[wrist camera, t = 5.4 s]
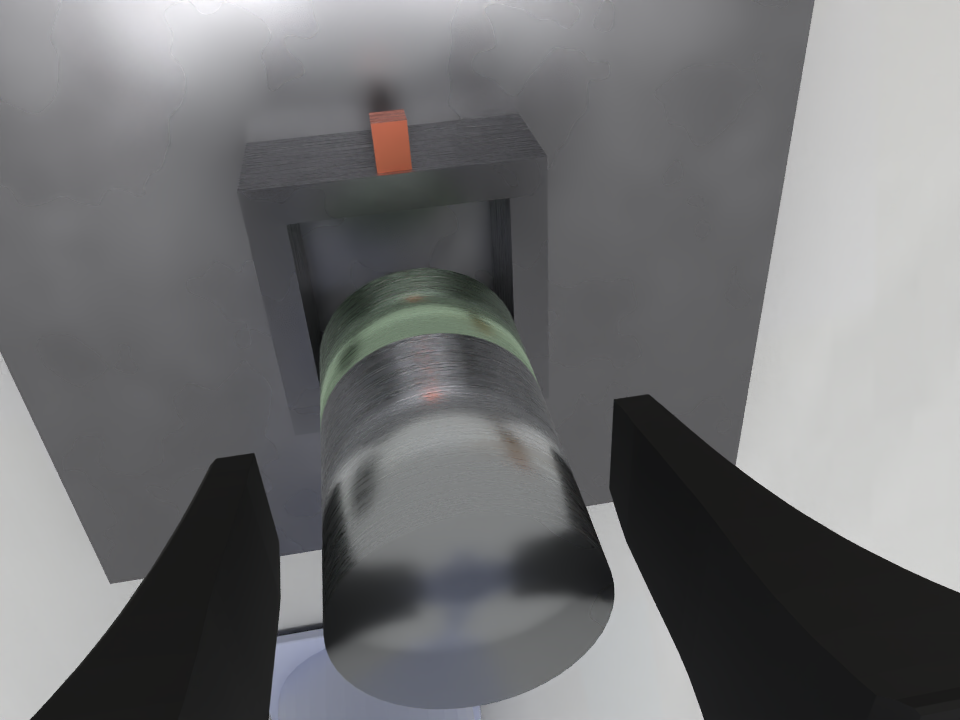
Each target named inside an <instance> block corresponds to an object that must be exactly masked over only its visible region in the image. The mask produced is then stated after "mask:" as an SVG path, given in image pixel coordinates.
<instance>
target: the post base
mask: <svg viewBox="0 0 960 720" xmlns="http://www.w3.org/2000/svg"><path fill="white" fill-rule="evenodd" d="M813 6H814V0H0V352H1V354H2V356H3V358H4V360H5V363H6V365H7V367H8V369H9V371H10V373H11V375H12V377H13V379H14V382H15V384H16V386H17V388H18V390H19V392H20V394H21V396H22V398H23V401H24V403H25V405H26V407H27V409H28V411H29V413H30V415H31V417H32V420H33V422H34V424H35V426H36V428H37V430H38V432H39V434H40V436H41V439H42V441H43V443H44V445H45V447H46V449H47V451H48V453H49V455H50V458H51V460H52V462H53V464H54V466H55V468H56V470H57V472H58V474H59V477H60V479H61V481H62V483H63V485H64V487H65V489H66V491H67V493H68V496H69V498H70V500H71V502H72V504H73V506H74V508H75V510H76V512H77V515H78V517H79V519H80V521H81V523H82V525H83V527H84V529H85V531H86V534H87V536H88V538H89V540H90V542H91V544H92V546H93V548H94V550H95V553H96V555H97V557H98V559H99V561H100V563H101V565H102V567H103V569H104V572H105V574H106V576H107V578H108V580H109V582H110V584H112V583H118V582H124V581H130V580H137V579H143V578H145V577H146V575H147V574H148V572H149V571H150V570H151V568H152V566H153V565H154V563H155V562H156V560H157V559H158V557H159V555H160V554H161V552H162V550H163V549H164V547H165V545H166V544H167V542H168V541H169V539H170V537H171V536H172V534H173V532H174V531H175V529H176V527H177V526H178V524H179V522H180V521H181V519H182V517H183V515H184V513H185V512H186V510H187V508H188V506H189V505H190V503H191V501H192V499H193V497H194V495H195V494H196V492H197V490H198V488H199V486H200V484H201V482H202V480H203V478H204V476H205V475H206V473H207V471H208V469H209V467H210V465H211V464H212V463H213V461H214V460H215V459H216V458H223V457H229V456H236V455H243V454H250V453H255V457H256V460H257V464H258V467H259V471H260V474H261V478H262V482H263V485H264V489H265V492H266V496H267V499H268V503H269V506H270V510H271V514H272V517H273V521H274V524H275V528H276V531H277V535H278V538H279V548H280V556H284V555H290V554H296V553H302V552H308V551H314V550H321V549H322V505H321V431H320V346H321V341H322V337H323V334H324V331H325V329H326V326H327V324H328V322H329V321H330V319H331V317H332V315H333V314H334V313H335V311H336V310H337V309H338V307H339V306H340V305H341V304H342V303H343V302H344V301H345V300H346V299H347V298H348V297H349V296H350V295H351V294H353V293H354V292H355V291H356V290H358V289H359V288H361V287H362V286H364V285H366V284H367V283H369V282H371V281H373V280H375V279H377V278H379V277H382V276H384V275H387V274H390V273H394V272H397V271H402V270H408V269H417V268H436V269H444V270H450V271H454V272H457V273H460V274H464V275H466V276H468V277H471V278H473V279H475V280H477V281H479V282H480V283H482V284H484V285H485V286H487V287H488V288H489V289H490V290H492V291H493V292H494V293H495V294H496V295H497V296H498V297H499V298H500V299H501V300H502V301H503V303H504V304H505V306H506V307H507V309H508V310H509V312H510V314H511V316H512V318H513V320H514V323H515V325H516V328H517V331H518V333H519V336H520V338H521V341H522V343H523V346H524V349H525V351H526V354H527V356H528V359H529V361H530V364H531V367H532V369H533V372H534V374H535V377H536V380H537V382H538V385H539V387H540V390H541V392H542V395H543V398H544V400H545V403H546V405H547V408H548V411H549V413H550V416H551V418H552V421H553V423H554V426H555V429H556V431H557V434H558V436H559V439H560V441H561V444H562V447H563V449H564V452H565V454H566V457H567V460H568V462H569V465H570V467H571V470H572V472H573V475H574V478H575V480H576V483H577V485H578V488H579V491H580V493H581V496H582V498H583V501H584V503H585V506H590V505H597V504H603V503H609V502H613V499H612V496H611V493H610V490H609V480H610V461H611V442H612V423H613V403H614V399H618V398H625V397H632V396H639V395H645V394H649V395H651V396H652V397H653V398H654V399H655V400H657V401H658V402H659V403H660V404H661V405H662V406H664V407H665V408H666V409H667V410H668V411H670V412H671V413H672V414H673V415H674V416H675V417H677V418H678V419H679V420H680V421H681V422H682V423H684V424H685V425H686V426H687V427H688V428H689V429H691V430H692V431H693V432H694V433H695V434H697V435H698V436H699V437H700V438H701V439H703V440H704V441H705V442H706V443H707V444H709V445H710V446H711V447H712V448H713V449H715V450H716V451H717V452H718V453H720V454H721V455H722V456H723V457H725V458H726V459H727V460H729V461H730V462H731V463H732V464H734V465H735V464H736V459H737V453H738V447H739V441H740V435H741V429H742V423H743V417H744V412H745V406H746V400H747V394H748V388H749V382H750V376H751V370H752V365H753V359H754V353H755V347H756V341H757V335H758V329H759V323H760V318H761V312H762V306H763V300H764V294H765V288H766V282H767V276H768V271H769V265H770V259H771V253H772V247H773V241H774V235H775V229H776V224H777V218H778V212H779V206H780V200H781V194H782V188H783V182H784V177H785V171H786V165H787V159H788V153H789V147H790V141H791V135H792V130H793V124H794V118H795V112H796V106H797V100H798V94H799V88H800V83H801V77H802V71H803V65H804V59H805V53H806V47H807V41H808V36H809V30H810V24H811V18H812V12H813Z"/></svg>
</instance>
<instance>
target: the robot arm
mask: <svg viewBox="0 0 960 720" xmlns="http://www.w3.org/2000/svg"><path fill="white" fill-rule="evenodd" d="M609 490H610V493H611V496H612V499H613V502H614V506H615V509H616V512H617V515H618V518H619V521H620V524H621V527H622V530H623V533H624V536H625V539H626V542H627V544H628V546H629V548H630V550H631V553H632V555H633V557H634V559H635V561H636V563H637V565H638V568H639V570H640V572H641V574H642V576H643V578H644V580H645V582H646V585H647V587H648V589H649V591H650V593H651V595H652V597H653V599H654V601H655V603H656V606H657V608H658V610H659V612H660V614H661V616H662V618H663V620H664V622H665V624H666V627H667V629H668V631H669V633H670V635H671V637H672V639H673V641H674V643H675V646H676V648H677V650H678V652H679V654H680V657H681V659H682V661H683V664H684V666H685V668H686V671H687V673H688V675H689V678H690V681H691V684H692V686H693V689H694V692H695V695H696V698H697V700H698V703H699V706H700V709H701V712H702V714H703V717H704V720H960V593H959V592H956V591H954V590H952V589H949V588H947V587H944V586H942V585H940V584H937V583H935V582H932V581H930V580H928V579H926V578H924V577H921V576H919V575H917V574H915V573H913V572H910V571H908V570H906V569H904V568H902V567H900V566H898V565H896V564H894V563H892V562H890V561H888V560H886V559H884V558H882V557H880V556H878V555H876V554H874V553H872V552H870V551H868V550H866V549H864V548H862V547H860V546H858V545H856V544H855V543H853V542H851V541H849V540H847V539H845V538H844V537H842V536H840V535H838V534H837V533H835V532H833V531H832V530H830V529H828V528H827V527H825V526H823V525H822V524H820V523H818V522H817V521H815V520H813V519H811V518H810V517H808V516H806V515H805V514H803V513H802V512H800V511H799V510H797V509H795V508H794V507H792V506H791V505H789V504H788V503H786V502H785V501H783V500H782V499H780V498H779V497H778V496H776V495H775V494H773V493H772V492H770V491H769V490H767V489H766V488H765V487H763V486H762V485H760V484H759V483H757V482H756V481H755V480H753V479H752V478H751V477H749V476H748V475H747V474H745V473H744V472H743V471H741V470H740V469H739V468H738V467H736V466H735V465H734V464H732V463H731V462H730V461H729V460H727V459H726V458H725V457H723V456H722V455H721V454H720V453H718V452H717V451H716V450H715V449H713V448H712V447H711V446H710V445H709V444H707V443H706V442H705V441H704V440H703V439H701V438H700V437H699V436H698V435H697V434H695V433H694V432H693V431H692V430H691V429H689V428H688V427H687V426H686V425H685V424H684V423H682V422H681V421H680V420H679V419H678V418H677V417H675V416H674V415H673V414H672V413H671V412H670V411H668V410H667V409H666V408H665V407H664V406H662V405H661V404H660V403H659V402H658V401H657V400H655V399H654V398H653V397H652V396H651V395H649V394H645V395H639V396H632V397H625V398H618V399H614V403H613V423H612V442H611V461H610V480H609ZM280 599H281V595H280V548H279V538H278V535H277V531H276V528H275V524H274V521H273V517H272V514H271V510H270V506H269V503H268V499H267V496H266V492H265V489H264V485H263V482H262V478H261V474H260V471H259V467H258V464H257V460H256V457H255V453H250V454H243V455H236V456H229V457H223V458H216V459H215V460H214V461H213V463H212V464H211V465H210V467H209V469H208V471H207V473H206V475H205V476H204V478H203V480H202V482H201V484H200V486H199V488H198V490H197V492H196V494H195V495H194V497H193V499H192V501H191V503H190V505H189V506H188V508H187V510H186V512H185V513H184V515H183V517H182V519H181V521H180V522H179V524H178V526H177V527H176V529H175V531H174V532H173V534H172V536H171V537H170V539H169V541H168V542H167V544H166V545H165V547H164V549H163V550H162V552H161V554H160V555H159V557H158V559H157V560H156V562H155V563H154V565H153V566H152V568H151V570H150V571H149V572H148V574H147V575H146V577H145V578H144V580H143V581H142V583H141V584H140V586H139V587H138V588H137V590H136V591H135V593H134V594H133V596H132V597H131V599H130V600H129V602H128V603H127V605H126V606H125V607H124V609H123V610H122V612H121V613H120V614H119V616H118V617H117V618H116V620H115V621H114V622H113V624H112V625H111V626H110V628H109V629H108V630H107V632H106V633H105V634H104V635H103V637H102V638H101V639H100V640H99V642H98V643H97V644H96V645H95V647H94V648H93V649H92V650H91V652H90V653H89V654H88V655H87V656H86V658H85V659H84V660H83V661H82V663H81V664H80V665H79V666H78V667H77V668H76V670H75V671H74V672H73V673H72V674H71V675H70V676H69V677H68V679H67V680H66V681H65V682H64V683H63V684H62V685H61V686H60V688H59V689H58V690H57V691H56V692H55V693H54V694H53V695H52V697H51V698H50V699H49V700H48V701H47V702H46V703H45V704H44V705H43V706H42V708H41V709H40V710H39V711H38V712H37V713H36V714H35V715H34V716H33V717H32V718H31V719H30V720H268V719H269V713H270V716H271V719H272V720H481V711H480V706H474V707H467V708H458V709H422V708H412V707H406V706H401V705H396V704H393V703H389V702H386V701H382V700H380V699H377V698H375V697H373V696H370V695H368V694H366V693H364V692H363V691H361V690H359V689H357V688H356V687H354V686H353V685H352V684H351V683H349V682H348V681H347V680H346V679H344V677H343V676H342V675H341V674H340V673H339V672H338V671H337V670H336V668H335V667H334V665H333V664H332V662H331V660H330V659H329V656H328V653H327V651H326V648H325V643H324V636H323V629H317V630H311V631H305V632H300V633H294V634H288V635H282V636H277V631H278V621H279V610H280Z"/></svg>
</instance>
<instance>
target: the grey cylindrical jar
mask: <svg viewBox="0 0 960 720" xmlns="http://www.w3.org/2000/svg"><path fill="white" fill-rule="evenodd" d="M320 431H321V505H322V580H323V636H324V643H325V648H326V651H327V653H328V656H329V659H330V660H331V662H332V664H333V665H334V667H335V668H336V670H337V671H338V672H339V673H340V674H341V675H342V676H343V677H344V679H346V680H347V681H348V682H349V683H351V684H352V685H353V686H354V687H356V688H357V689H359V690H361V691H363V692H364V693H366V694H368V695H370V696H373V697H375V698H377V699H380V700H382V701H386V702H389V703H393V704H396V705H401V706H406V707H412V708H422V709H458V708H467V707H474V706H481V705H485V704H489V703H494V702H498V701H501V700H505V699H508V698H511V697H514V696H517V695H519V694H522V693H524V692H527V691H530V690H532V689H534V688H536V687H538V686H540V685H542V684H544V683H546V682H548V681H549V680H551V679H553V678H554V677H556V676H558V675H559V674H561V673H562V672H563V671H565V670H566V669H568V668H569V667H570V666H572V665H573V664H574V663H575V662H576V661H578V660H579V659H580V658H581V657H582V656H583V655H584V654H585V653H586V652H587V651H588V650H589V649H590V648H591V647H592V646H593V644H594V643H595V642H596V640H597V639H598V638H599V636H600V635H601V633H602V632H603V630H604V628H605V626H606V624H607V622H608V620H609V617H610V614H611V611H612V608H613V602H614V582H613V578H612V574H611V571H610V568H609V565H608V563H607V560H606V558H605V555H604V552H603V550H602V547H601V545H600V542H599V540H598V537H597V534H596V532H595V529H594V527H593V524H592V521H591V519H590V516H589V514H588V511H587V509H586V506H585V503H584V501H583V498H582V496H581V493H580V491H579V488H578V485H577V483H576V480H575V478H574V475H573V472H572V470H571V467H570V465H569V462H568V460H567V457H566V454H565V452H564V449H563V447H562V444H561V441H560V439H559V436H558V434H557V431H556V429H555V426H554V423H553V421H552V418H551V416H550V413H549V411H548V408H547V405H546V403H545V400H544V398H543V395H542V392H541V390H540V387H539V385H538V382H537V380H536V377H535V374H534V372H533V369H532V367H531V364H530V361H529V359H528V356H527V354H526V351H525V349H524V346H523V343H522V341H521V338H520V336H519V333H518V331H517V328H516V325H515V323H514V320H513V318H512V316H511V314H510V312H509V310H508V309H507V307H506V306H505V304H504V303H503V301H502V300H501V299H500V298H499V297H498V296H497V295H496V294H495V293H494V292H493V291H492V290H490V289H489V288H488V287H487V286H485V285H484V284H482V283H480V282H479V281H477V280H475V279H473V278H471V277H468V276H466V275H464V274H460V273H457V272H454V271H450V270H444V269H436V268H417V269H408V270H402V271H397V272H394V273H390V274H387V275H384V276H382V277H379V278H377V279H375V280H373V281H371V282H369V283H367V284H366V285H364V286H362V287H361V288H359V289H358V290H356V291H355V292H354V293H353V294H351V295H350V296H349V297H348V298H347V299H346V300H345V301H344V302H343V303H342V304H341V305H340V306H339V307H338V309H337V310H336V311H335V313H334V314H333V315H332V317H331V319H330V321H329V322H328V324H327V326H326V329H325V331H324V334H323V337H322V341H321V346H320Z"/></svg>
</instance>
